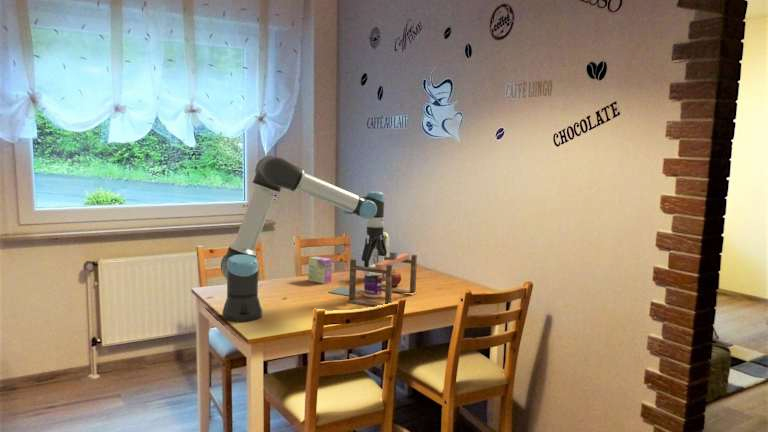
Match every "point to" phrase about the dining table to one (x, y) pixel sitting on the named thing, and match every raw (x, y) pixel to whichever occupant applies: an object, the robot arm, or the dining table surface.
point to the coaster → (344, 291)
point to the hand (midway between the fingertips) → (374, 272)
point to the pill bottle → (373, 284)
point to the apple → (395, 278)
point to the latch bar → (392, 260)
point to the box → (320, 269)
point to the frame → (388, 288)
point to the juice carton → (375, 252)
